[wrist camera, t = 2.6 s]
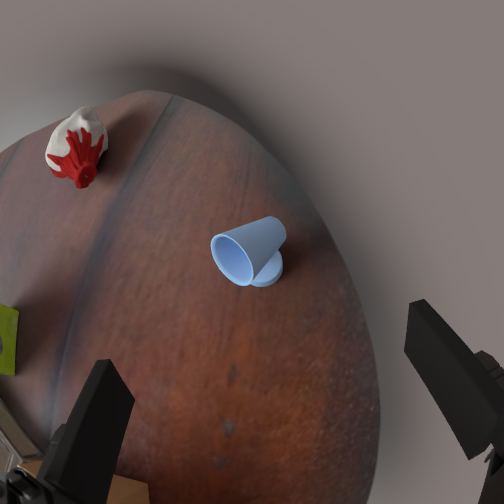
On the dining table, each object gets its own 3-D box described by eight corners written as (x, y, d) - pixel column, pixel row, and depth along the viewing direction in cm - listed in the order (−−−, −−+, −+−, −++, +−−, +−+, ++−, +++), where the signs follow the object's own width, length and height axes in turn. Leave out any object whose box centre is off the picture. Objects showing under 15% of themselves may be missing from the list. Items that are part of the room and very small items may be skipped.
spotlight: (254, 308, 31) (297, 261, 33) (239, 280, 22) (299, 216, 24) (221, 278, 33) (263, 234, 34) (195, 241, 24) (253, 184, 25)
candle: (104, 122, 46) (132, 173, 43) (56, 158, 45) (76, 215, 41) (83, 90, 38) (108, 139, 34) (31, 131, 36) (44, 190, 32)
